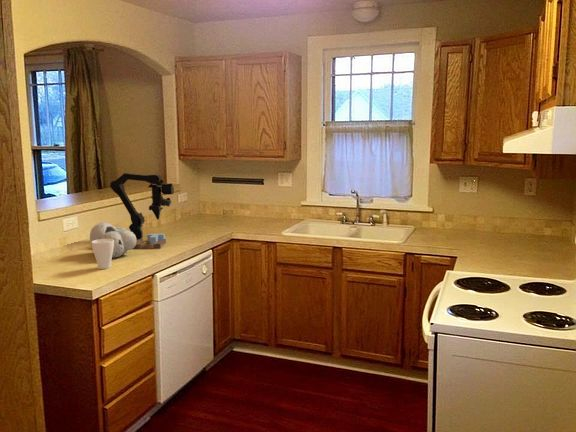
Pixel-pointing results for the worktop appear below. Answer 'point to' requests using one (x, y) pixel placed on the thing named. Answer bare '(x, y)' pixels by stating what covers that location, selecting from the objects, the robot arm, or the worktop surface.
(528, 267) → the worktop surface
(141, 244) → the dock
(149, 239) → the t block
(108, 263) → the cup
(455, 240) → the worktop surface
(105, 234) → the grey lobed sculpture
